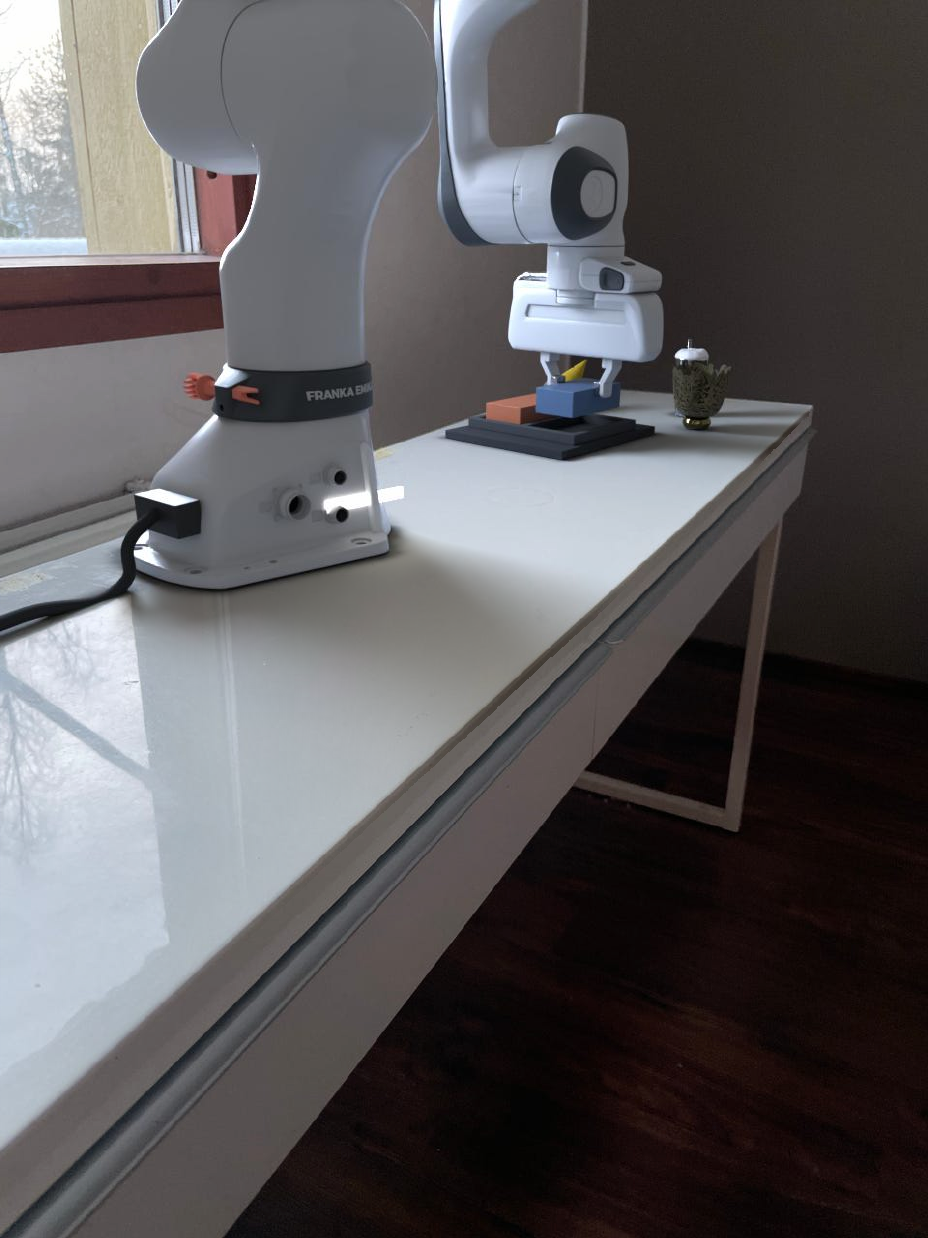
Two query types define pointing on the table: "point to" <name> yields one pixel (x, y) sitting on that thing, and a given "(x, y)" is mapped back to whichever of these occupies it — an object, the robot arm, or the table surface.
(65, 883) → the table surface
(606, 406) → the blue rectangular block
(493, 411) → the orange-red rectangular block
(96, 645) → the table surface
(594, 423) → the backing plate
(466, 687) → the table surface
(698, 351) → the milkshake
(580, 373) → the yellow cone tip
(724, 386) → the cup
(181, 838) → the table surface
